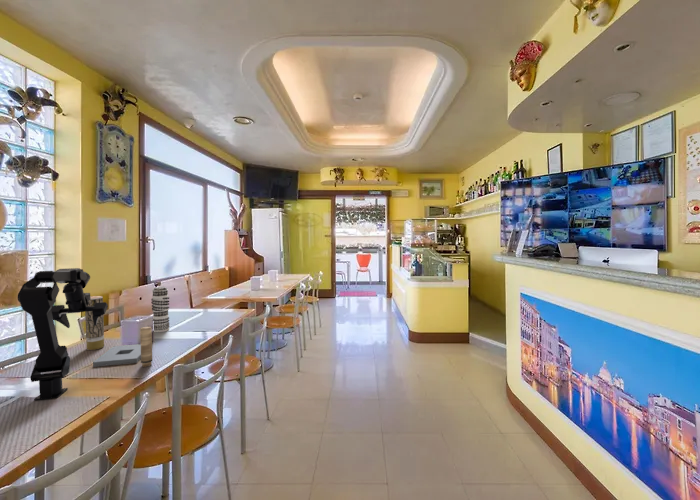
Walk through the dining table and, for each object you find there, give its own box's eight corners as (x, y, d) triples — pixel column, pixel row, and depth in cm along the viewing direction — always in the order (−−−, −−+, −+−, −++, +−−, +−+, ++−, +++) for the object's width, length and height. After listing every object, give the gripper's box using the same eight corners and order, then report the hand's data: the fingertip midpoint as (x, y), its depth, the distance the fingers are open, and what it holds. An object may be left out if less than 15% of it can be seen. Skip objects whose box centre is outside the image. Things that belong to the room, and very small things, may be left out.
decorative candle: (168, 326, 193) (167, 285, 191) (171, 330, 185) (170, 287, 184) (150, 329, 187) (149, 287, 186) (153, 333, 180) (152, 289, 178)
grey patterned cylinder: (94, 351, 152) (92, 298, 151) (82, 350, 153) (81, 298, 152) (107, 346, 159) (106, 296, 158) (96, 345, 160) (95, 295, 159)
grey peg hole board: (136, 362, 138) (136, 358, 138) (93, 366, 134) (92, 362, 134) (151, 347, 157) (151, 343, 157) (114, 350, 153) (113, 346, 153)
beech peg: (150, 366, 134) (149, 329, 134) (139, 367, 133) (138, 329, 132) (153, 362, 138) (152, 326, 137) (143, 363, 137) (142, 327, 136)
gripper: (108, 283, 140) (113, 312, 147) (53, 286, 133) (62, 316, 139) (100, 298, 131) (107, 328, 137) (41, 302, 124) (51, 333, 130)
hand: (82, 326), depth 136 cm, fingers open, 9 cm apart
